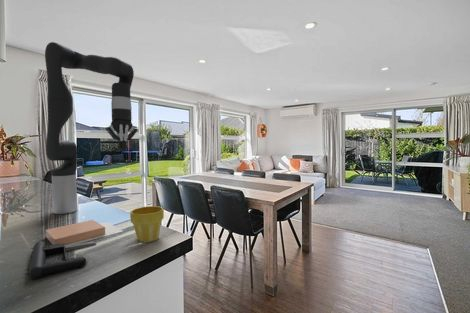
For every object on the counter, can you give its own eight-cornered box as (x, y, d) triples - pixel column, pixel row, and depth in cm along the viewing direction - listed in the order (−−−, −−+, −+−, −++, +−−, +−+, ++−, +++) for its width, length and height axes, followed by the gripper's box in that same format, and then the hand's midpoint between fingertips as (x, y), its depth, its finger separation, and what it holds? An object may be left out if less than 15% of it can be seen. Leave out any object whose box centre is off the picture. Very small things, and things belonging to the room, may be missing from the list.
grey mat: (50, 236, 80) (50, 235, 80) (106, 223, 94) (106, 222, 94) (62, 249, 71) (62, 247, 71) (123, 232, 84) (123, 231, 84)
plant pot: (127, 237, 80) (126, 208, 79) (157, 230, 86) (157, 204, 86) (135, 248, 72) (135, 216, 71) (168, 239, 78) (168, 210, 77)
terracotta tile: (92, 226, 89) (45, 237, 78) (92, 219, 89) (45, 229, 78) (105, 234, 81) (55, 247, 70) (105, 227, 81) (54, 239, 70)
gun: (92, 232, 79) (28, 242, 69) (103, 255, 63) (22, 271, 53) (92, 242, 79) (28, 253, 69) (102, 267, 63) (21, 286, 53)
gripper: (132, 111, 107) (133, 149, 108) (101, 107, 97) (102, 150, 98) (141, 109, 102) (141, 150, 103) (108, 106, 92) (109, 150, 93)
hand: (122, 150), depth 100 cm, fingers closed
